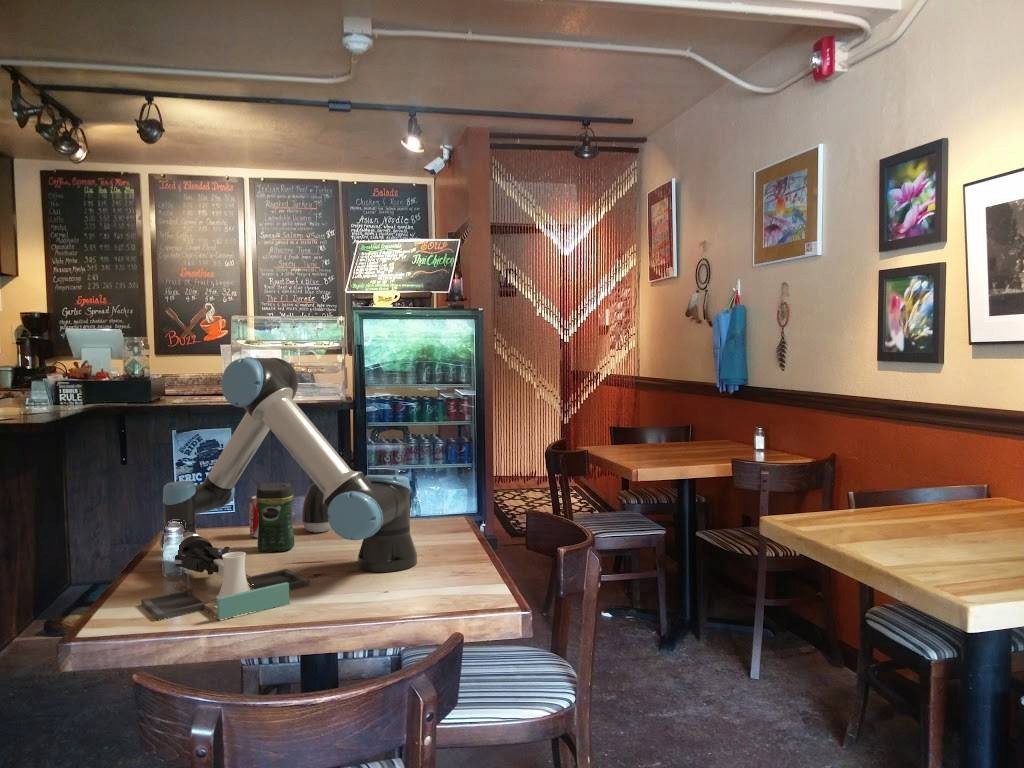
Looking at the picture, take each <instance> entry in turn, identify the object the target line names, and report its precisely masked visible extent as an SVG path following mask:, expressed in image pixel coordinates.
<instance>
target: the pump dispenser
mask: <svg viewBox="0 0 1024 768" xmlns="http://www.w3.org/2000/svg"><path fill="white" fill-rule="evenodd" d="M323 498H324V494H323V493H322V491H321V490H320V489H319V488H318V487H317V485H316V484H315V483H314V482H313V483H312V484H310V486H309V487H308V490H307V491H306V493H305V496H304V499H303V504H302V509H301V522H302V524H303V527H304V529H305V530H307V531H308V532H309V533H312V532H313V533H315V534H321V533H324V532H328V531H330V529H332V528H331V526H330V524H329V521H328V517H329V516H328V509H327V508H326V507H325V505H324V504H323ZM320 532H321V533H320Z"/></svg>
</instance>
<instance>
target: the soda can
mask: <svg viewBox="0 0 1024 768" xmlns="http://www.w3.org/2000/svg"><path fill="white" fill-rule="evenodd" d="M248 515H249V534H250V536H251V537H253V538H254V537H255V538H254V539H258V529H259V507H258V504H257V501H256V495H253V496H251V500H250V501H249V514H248Z"/></svg>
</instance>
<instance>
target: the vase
mask: <svg viewBox="0 0 1024 768" xmlns="http://www.w3.org/2000/svg"><path fill="white" fill-rule="evenodd" d="M246 555H247V553H246V552H244V551H231V552H230V553H226V554H223V555H222V558H223V566H224V573H223V577H222V582H221V587H220V590H219V593H218V594H217V595H216V596H215V597H216V601H217V598H219V597H223V596H228V595H232V594H237V593H241V592H245V591H250V590H251V588H250V585H249V584H248V582H247V579H246V574H247V573H246V565H245V564H246Z"/></svg>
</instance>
